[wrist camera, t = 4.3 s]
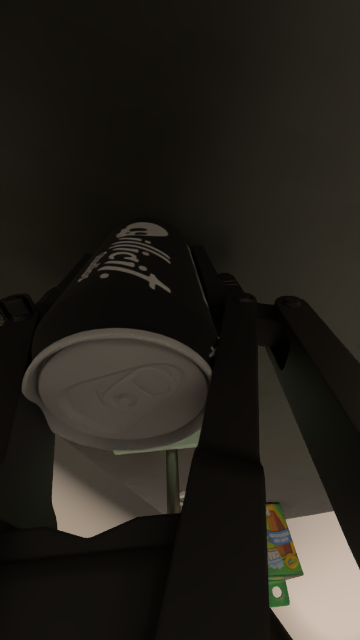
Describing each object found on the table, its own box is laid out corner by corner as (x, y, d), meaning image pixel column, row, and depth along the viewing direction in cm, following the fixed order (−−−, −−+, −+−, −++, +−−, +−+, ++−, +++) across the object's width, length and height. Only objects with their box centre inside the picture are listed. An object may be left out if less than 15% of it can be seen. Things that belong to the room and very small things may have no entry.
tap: (158, 415, 28) (156, 544, 18) (179, 413, 28) (189, 540, 19) (161, 430, 30) (161, 552, 21) (181, 428, 30) (190, 549, 21)
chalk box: (280, 501, 53) (315, 601, 40) (264, 513, 58) (292, 605, 46) (244, 502, 51) (270, 606, 39) (232, 514, 56) (251, 610, 44)
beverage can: (83, 254, 16) (-49, 401, 6) (154, 193, 14) (131, 259, 4) (143, 314, 19) (123, 471, 9) (207, 271, 17) (267, 412, 7)
